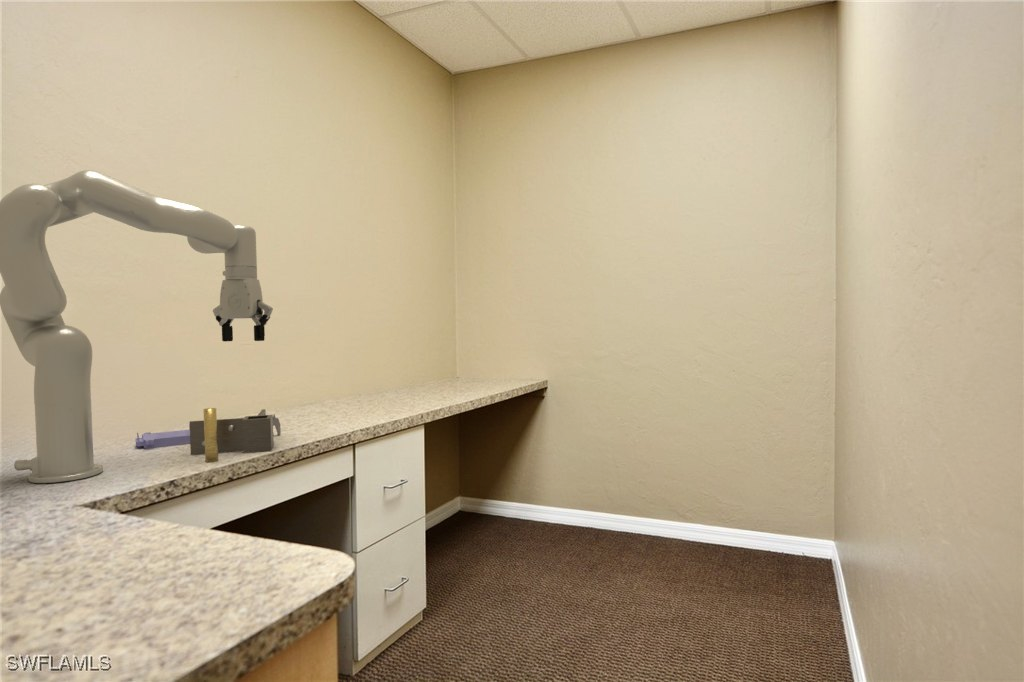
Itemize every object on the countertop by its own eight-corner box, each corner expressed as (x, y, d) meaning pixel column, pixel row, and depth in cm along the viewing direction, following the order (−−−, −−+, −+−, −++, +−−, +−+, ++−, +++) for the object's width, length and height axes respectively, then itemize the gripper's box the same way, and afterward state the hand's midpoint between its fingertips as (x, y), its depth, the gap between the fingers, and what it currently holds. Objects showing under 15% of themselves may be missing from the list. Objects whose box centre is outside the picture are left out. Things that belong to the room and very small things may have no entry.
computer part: (135, 443, 165) (136, 453, 152) (134, 428, 165) (136, 436, 152) (253, 430, 181) (263, 438, 169) (252, 416, 181) (263, 423, 169)
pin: (204, 462, 138) (202, 409, 137) (206, 460, 140) (204, 408, 140) (217, 461, 138) (215, 409, 138) (218, 459, 141) (217, 407, 140)
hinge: (188, 457, 144) (186, 423, 144) (203, 442, 161) (202, 412, 161) (271, 450, 149) (270, 418, 149) (277, 437, 167) (276, 408, 167)
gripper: (202, 274, 155) (204, 341, 156) (260, 272, 151) (262, 341, 151) (223, 276, 162) (225, 341, 163) (279, 274, 158) (281, 340, 158)
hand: (243, 341), depth 157 cm, fingers open, 9 cm apart
